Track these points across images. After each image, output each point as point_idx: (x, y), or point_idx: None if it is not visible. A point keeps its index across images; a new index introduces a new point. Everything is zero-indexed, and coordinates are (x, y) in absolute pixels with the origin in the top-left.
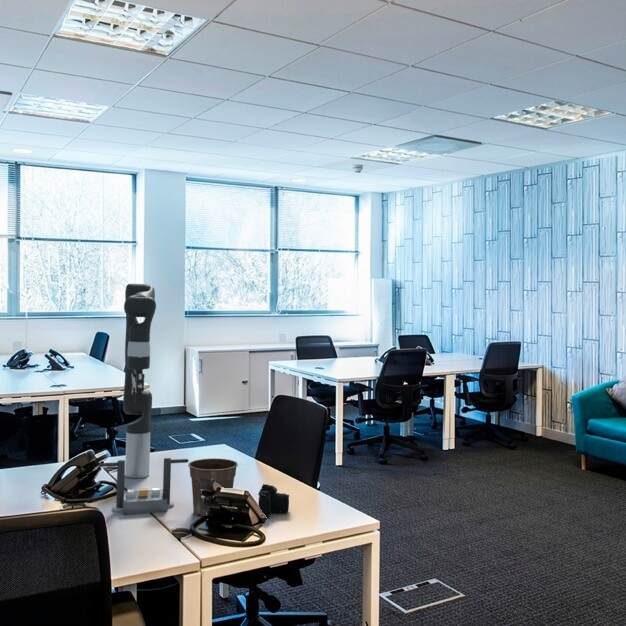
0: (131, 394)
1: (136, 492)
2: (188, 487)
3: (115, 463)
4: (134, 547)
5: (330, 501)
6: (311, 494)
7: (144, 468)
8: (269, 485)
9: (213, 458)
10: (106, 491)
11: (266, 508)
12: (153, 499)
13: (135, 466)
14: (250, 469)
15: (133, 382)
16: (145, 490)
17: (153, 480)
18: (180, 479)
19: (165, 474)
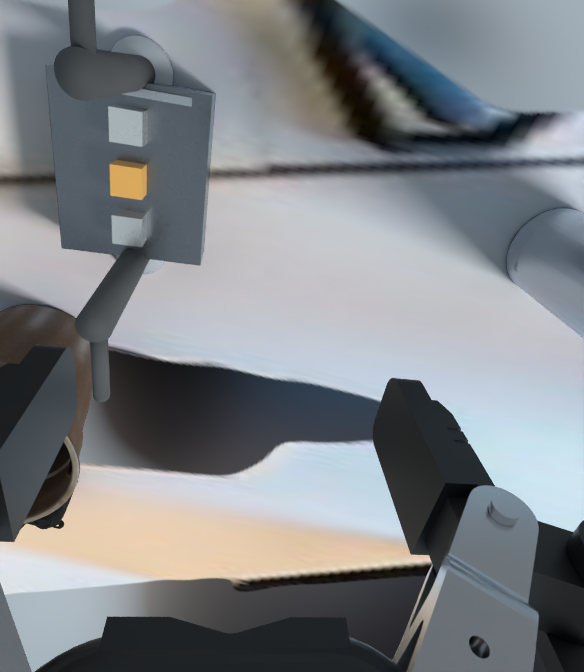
0: None
1: (186, 161)
2: (323, 359)
3: (71, 30)
4: None
5: (84, 581)
6: (149, 568)
7: (523, 279)
8: (44, 528)
9: (75, 480)
10: (409, 81)
11: None
12: (69, 199)
13: (540, 249)
14: None
15: (421, 625)
16: (110, 185)
17: (455, 285)
18: (420, 361)
19: (98, 286)
